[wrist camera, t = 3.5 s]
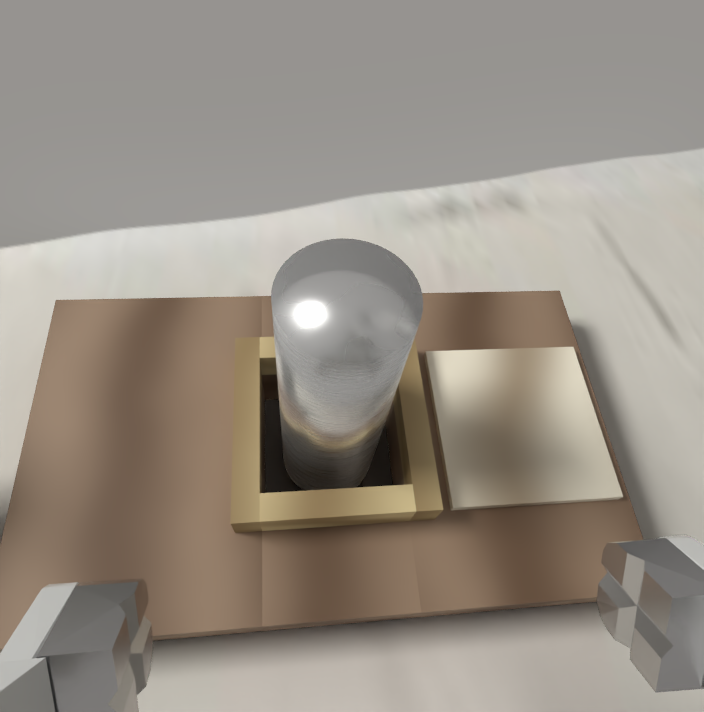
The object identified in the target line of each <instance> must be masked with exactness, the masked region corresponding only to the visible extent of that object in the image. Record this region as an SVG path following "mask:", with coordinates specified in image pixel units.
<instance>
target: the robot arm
mask: <svg viewBox="0 0 704 712" xmlns="http://www.w3.org/2000/svg"><path fill="white" fill-rule="evenodd" d="M601 563H602V565H603V566H604V568H605V569H606V571H607V574H606V575H605V576H604V577H603V578H602V580H601V581H600V582H599V583H598V591H597V604H598V608H599V613H600V617H601V619H602V621H603V623H604V625H605V627H606V629H607V630H608V632H609V633H610V634H611V636H612V637H613V638H614V639H615V640H616V641H618V642H620V643H622V644H623V645H625V646H627V647H629V648H630V660H631V662H632V663H633V664H634V666H635V667H636V668H637V669H638V671H639V672H640V673H641V674H642V676H643V677H644V678H645V680H646V681H647V682H648V683H649V685H650V686H651V687H652V689H653V690H654V691H655V692H667V691H679V690H692V689H704V545H703V544H701V543H700V542H699V541H698V540H696V539H695V538H693V537H691V536H688V535H676V536H667V537H659V538H656V539H645V540H633V541H622V542H610V543H607V544H606V546H605V548H604V549H603V553H602V560H601ZM148 601H149V597H148V591H147V584H146V582H145V581H144V579H143V578H142V579H124V580H107V581H89V582H81V583H78V582H74V583H61V584H49V585H47V586H45V587H44V588H42V589H41V590H40V592H39V594H38V595H37V597H36V598H35V600H34V601H33V603H32V604H31V606H30V608H29V609H28V611H27V612H26V614H25V615H24V617H23V618H22V620H21V622H20V623H19V625H18V626H17V628H16V629H15V631H14V632H13V634H12V636H11V637H10V639H9V640H8V642H7V643H6V645H5V646H4V648H3V650H2V651H1V653H0V712H139V709H138V701H137V695H138V694H139V693H140V692H141V691H142V690H143V689H144V688H145V687H146V685H147V681H148V677H149V674H150V669H151V662H152V654H153V632H152V623H151V622H150V621H149V620H148V619H147V618H146V617H145V616H144V613H145V610H146V607H147V604H148Z"/></svg>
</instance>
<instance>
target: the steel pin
mask: <svg viewBox="0 0 704 712" xmlns="http://www.w3.org/2000/svg"><path fill="white" fill-rule="evenodd" d="M271 303H272V316H273V329H274V341H275V354H276V367H277V380H278V393H279V406H280V419H281V432H282V445H283V457H284V464H285V468H286V470H287V473H288V474H289V476H290V478H291V479H292V480H293V482H294V483H295V484H296V485H297V486H298V487H300V488H301V489H302V490H304V491H308V490H324V489H341V488H356V487H357V486H358V485H359V484H360V483H361V482H362V481H363V479H364V478H365V476H366V474H367V473H368V470H369V468H370V465H371V462H372V459H373V456H374V453H375V450H376V447H377V445H378V442H379V439H380V436H381V433H382V430H383V427H384V424H385V421H386V419H387V416H388V413H389V410H390V407H391V404H392V401H393V398H394V396H395V393H396V390H397V387H398V384H399V381H400V378H401V375H402V372H403V370H404V367H405V364H406V361H407V358H408V355H409V352H410V349H411V346H412V344H413V341H414V338H415V335H416V332H417V329H418V326H419V323H420V320H421V317H422V312H423V296H422V292H421V288H420V285H419V283H418V281H417V279H416V277H415V275H414V274H413V272H412V271H411V270H410V268H409V267H408V266H407V265H406V264H405V263H404V262H403V261H402V260H401V259H400V258H399V257H397V256H396V255H395V254H393V253H391V252H390V251H388V250H387V249H384V248H382V247H380V246H378V245H375V244H372V243H369V242H365V241H361V240H355V239H331V240H325V241H321V242H317V243H314V244H311V245H309V246H307V247H305V248H303V249H301V250H299V251H298V252H296V253H295V254H293V255H292V256H291V257H290V258H289V259H288V260H287V261H286V262H285V263H284V264H283V265H282V267H281V268H280V270H279V271H278V273H277V275H276V277H275V280H274V282H273V286H272V292H271Z"/></svg>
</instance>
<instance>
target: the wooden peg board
mask: <svg viewBox="0 0 704 712" xmlns="http://www.w3.org/2000/svg"><path fill="white" fill-rule="evenodd" d="M422 296H423V312H422V317H421V320H420V323H419V326H418V329H417V332H416V335H415V338H414V341H413V344H412V346H411V349H410V352H409V355H408V358H407V361H406V364H405V367H404V370H403V372H402V375H401V378H400V381H399V384H398V387H397V390H396V393H395V396H394V398H393V401H392V404H391V407H390V410H389V413H388V416H387V419H386V421H385V426H386V434H387V442H388V450H389V458H390V466H391V474H392V482H393V485H392V486H375V487H358V488H341V489H324V490H308V491H291V492H274V493H266V489H265V400H270V399H279V393H278V380H277V367H276V354H275V341H274V329H273V316H272V303H271V296H251V297H198V298H144V299H90V300H56V302H55V306H54V311H53V315H52V319H51V324H50V328H49V333H48V337H47V341H46V346H45V350H44V355H43V359H42V363H41V368H40V372H39V377H38V381H37V385H36V390H35V394H34V399H33V403H32V407H31V412H30V416H29V421H28V425H27V429H26V434H25V438H24V443H23V447H22V451H21V456H20V460H19V465H18V469H17V473H16V478H15V482H14V487H13V491H12V495H11V500H10V504H9V509H8V513H7V517H6V522H5V526H4V531H3V535H2V539H1V544H0V653H1V651H2V650H3V648H4V646H5V645H6V643H7V642H8V640H9V639H10V637H11V636H12V634H13V632H14V631H15V629H16V628H17V626H18V625H19V623H20V622H21V620H22V618H23V617H24V615H25V614H26V612H27V611H28V609H29V608H30V606H31V604H32V603H33V601H34V600H35V598H36V597H37V595H38V594H39V592H40V590H41V589H42V588H44V587H45V586H47V585H49V584H61V583H74V582H78V583H81V582H89V581H107V580H124V579H142V578H143V579H144V581H145V582H146V584H147V591H148V597H149V601H148V604H147V607H146V610H145V613H144V616H145V617H146V618H147V619H148V620H149V621H150V622H151V623H152V632H153V641H156V640H167V639H179V638H190V637H201V636H213V635H224V634H235V633H247V632H258V631H269V630H281V629H292V628H303V627H315V626H326V625H337V624H349V623H360V622H371V621H383V620H394V619H405V618H417V617H428V616H439V615H451V614H462V613H473V612H485V611H496V610H507V609H519V608H530V607H541V606H553V605H564V604H575V603H587V602H597V591H598V583H599V582H600V581H601V580H602V578H603V577H604V576H605V575H606V574H607V571H606V569H605V568H604V566H603V565H602V563H601V560H602V553H603V549H604V548H605V546H606V544H607V543H610V542H622V541H633V540H643V537H642V534H641V531H640V528H639V525H638V522H637V519H636V516H635V513H634V510H633V507H632V504H631V501H630V498H629V495H628V492H627V489H626V486H625V483H624V480H623V477H622V474H621V471H620V469H619V466H618V463H617V460H616V457H615V454H614V451H613V448H612V445H611V442H610V439H609V436H608V433H607V430H606V427H605V424H604V421H603V418H602V415H601V412H600V409H599V406H598V403H597V400H596V397H595V394H594V391H593V389H592V386H591V383H590V380H589V377H588V374H587V371H586V368H585V365H584V362H583V359H582V356H581V353H580V350H579V347H578V344H577V341H576V338H575V335H574V332H573V329H572V326H571V323H570V320H569V317H568V314H567V311H566V309H565V306H564V303H563V300H562V297H561V294H560V291H520V292H467V293H422Z"/></svg>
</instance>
